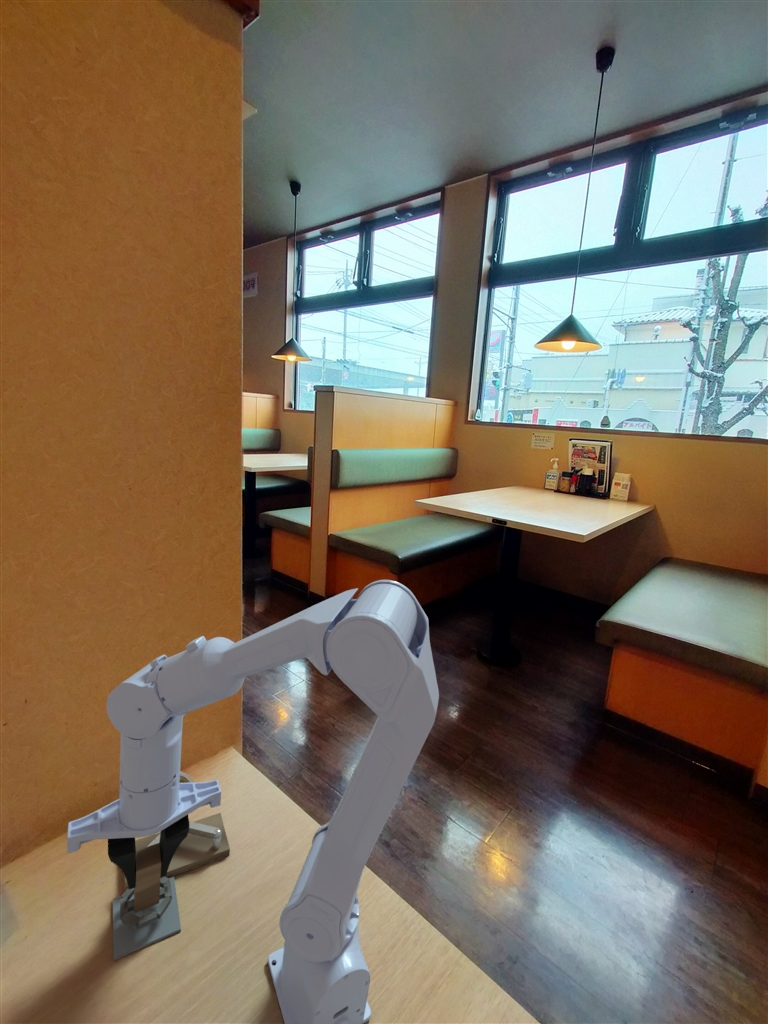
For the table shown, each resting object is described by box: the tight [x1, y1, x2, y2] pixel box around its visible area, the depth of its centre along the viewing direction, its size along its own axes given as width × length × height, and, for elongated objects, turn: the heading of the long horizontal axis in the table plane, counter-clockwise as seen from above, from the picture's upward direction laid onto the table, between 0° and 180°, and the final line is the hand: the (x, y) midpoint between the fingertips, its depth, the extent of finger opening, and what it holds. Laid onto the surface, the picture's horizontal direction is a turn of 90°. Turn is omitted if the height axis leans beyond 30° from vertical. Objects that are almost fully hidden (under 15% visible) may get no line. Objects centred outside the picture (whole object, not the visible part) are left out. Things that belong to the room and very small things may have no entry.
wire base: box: [123, 812, 231, 892], centre depth 59 cm, size 6×12×1 cm, turn 121°
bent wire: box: [147, 820, 222, 850], centre depth 59 cm, size 5×10×4 cm, turn 121°
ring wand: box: [120, 843, 172, 929], centre depth 51 cm, size 5×5×7 cm
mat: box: [112, 876, 182, 961], centre depth 52 cm, size 6×6×1 cm
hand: (147, 874), depth 51 cm, fingers closed on ring wand, 2 cm apart
